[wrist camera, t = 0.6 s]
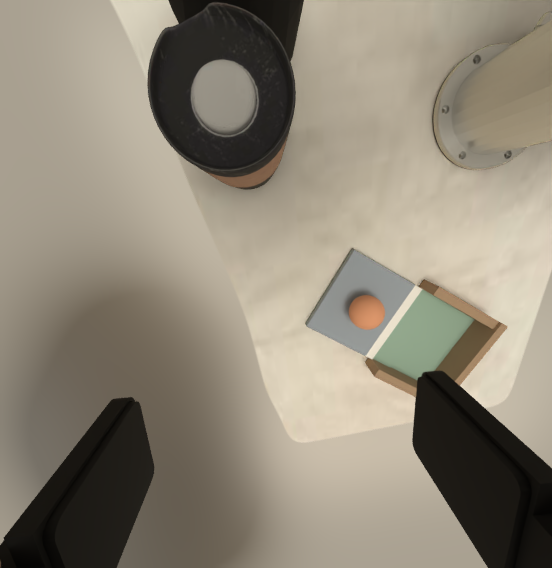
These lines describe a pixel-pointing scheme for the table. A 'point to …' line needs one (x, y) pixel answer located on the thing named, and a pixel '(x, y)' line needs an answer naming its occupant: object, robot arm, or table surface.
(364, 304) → the ball
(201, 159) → the travel mug
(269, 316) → the table surface
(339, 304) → the lane
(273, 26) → the portable speaker
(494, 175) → the table surface
